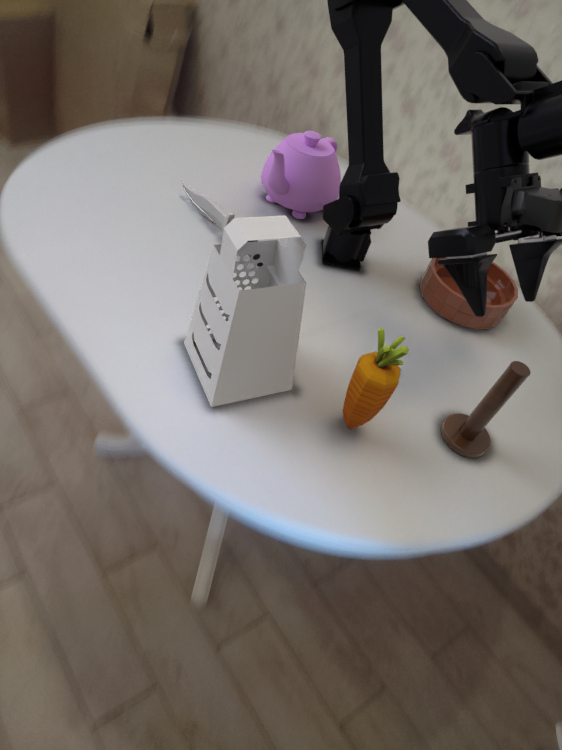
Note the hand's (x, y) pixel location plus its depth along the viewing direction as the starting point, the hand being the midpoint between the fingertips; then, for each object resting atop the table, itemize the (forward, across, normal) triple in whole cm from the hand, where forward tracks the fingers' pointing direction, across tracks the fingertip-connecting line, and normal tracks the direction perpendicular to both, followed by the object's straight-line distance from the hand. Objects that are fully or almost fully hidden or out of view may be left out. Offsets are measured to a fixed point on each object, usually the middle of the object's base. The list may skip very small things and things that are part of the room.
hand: (506, 308), depth 61 cm
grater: (+3, -27, +18) cm, 33 cm away
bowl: (+2, +14, +19) cm, 23 cm away
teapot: (-18, 0, +43) cm, 47 cm away
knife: (-14, -17, +39) cm, 45 cm away
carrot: (+11, -19, +8) cm, 23 cm away
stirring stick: (+15, -6, +2) cm, 16 cm away
